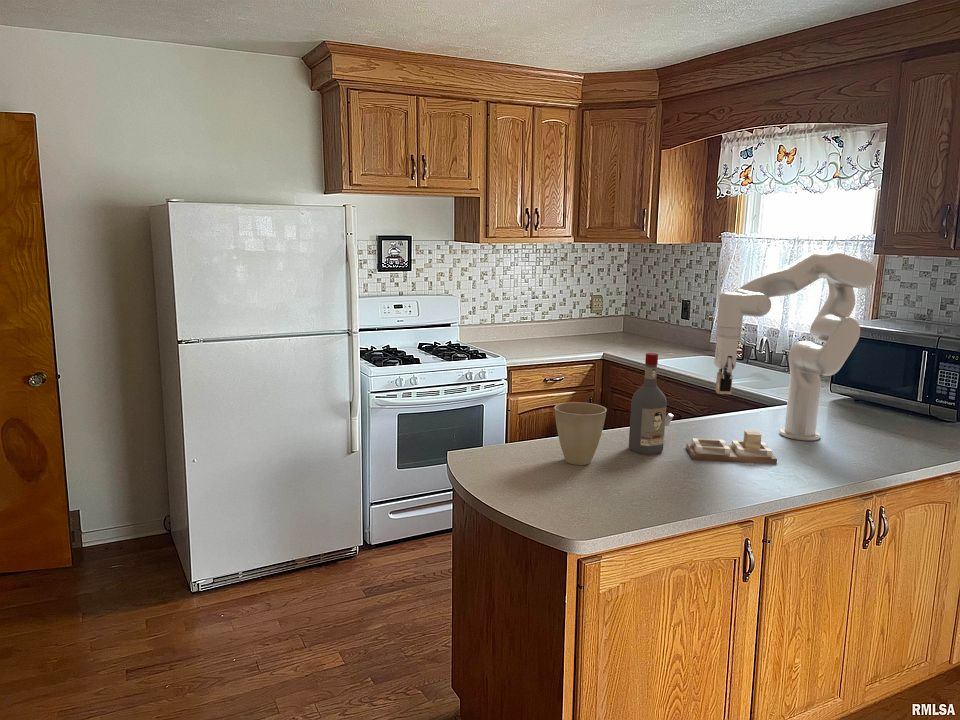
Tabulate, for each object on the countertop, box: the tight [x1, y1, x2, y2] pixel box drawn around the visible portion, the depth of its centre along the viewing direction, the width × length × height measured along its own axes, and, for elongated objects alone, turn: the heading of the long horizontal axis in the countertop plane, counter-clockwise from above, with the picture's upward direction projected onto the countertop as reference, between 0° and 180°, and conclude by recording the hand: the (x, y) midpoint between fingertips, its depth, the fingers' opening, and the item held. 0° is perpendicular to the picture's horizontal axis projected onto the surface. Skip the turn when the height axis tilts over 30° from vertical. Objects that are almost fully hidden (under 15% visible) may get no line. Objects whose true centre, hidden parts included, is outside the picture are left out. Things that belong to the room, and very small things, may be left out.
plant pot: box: [554, 401, 608, 466], centre depth 218 cm, size 15×15×16 cm
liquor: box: [628, 352, 667, 456], centre depth 229 cm, size 9×9×30 cm
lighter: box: [664, 412, 674, 436], centre depth 247 cm, size 7×2×8 cm, turn 42°
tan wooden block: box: [715, 371, 734, 395], centre depth 238 cm, size 4×4×6 cm
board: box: [686, 430, 778, 465], centre depth 227 cm, size 12×24×8 cm, turn 84°
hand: (723, 388), depth 239 cm, fingers closed on tan wooden block, 3 cm apart
